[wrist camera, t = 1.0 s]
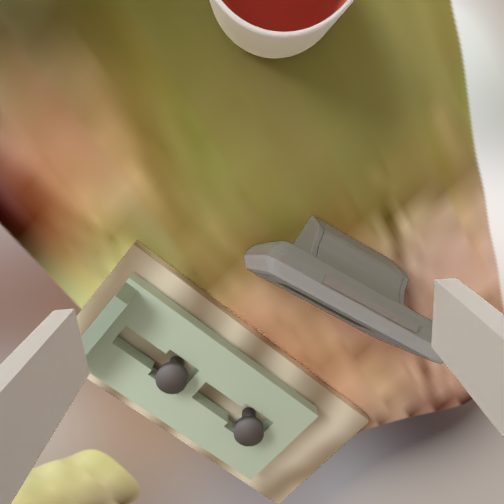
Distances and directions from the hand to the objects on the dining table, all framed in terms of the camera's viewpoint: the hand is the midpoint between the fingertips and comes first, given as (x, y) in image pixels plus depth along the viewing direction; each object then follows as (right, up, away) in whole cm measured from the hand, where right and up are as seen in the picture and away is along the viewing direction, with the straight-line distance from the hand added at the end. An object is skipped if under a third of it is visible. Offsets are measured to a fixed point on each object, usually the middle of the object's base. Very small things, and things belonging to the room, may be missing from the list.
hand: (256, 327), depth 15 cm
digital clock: (+7, +1, +24) cm, 25 cm away
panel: (-5, -9, +25) cm, 27 cm away
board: (-4, -10, +27) cm, 29 cm away
